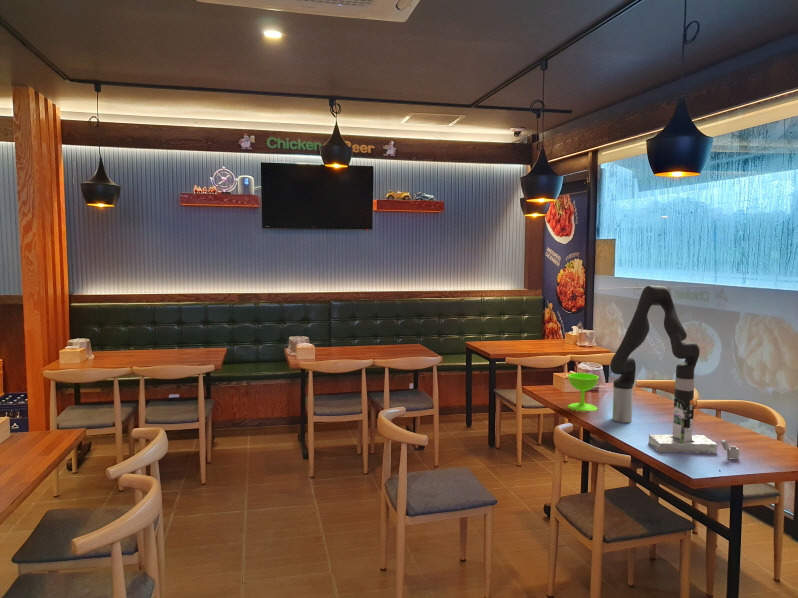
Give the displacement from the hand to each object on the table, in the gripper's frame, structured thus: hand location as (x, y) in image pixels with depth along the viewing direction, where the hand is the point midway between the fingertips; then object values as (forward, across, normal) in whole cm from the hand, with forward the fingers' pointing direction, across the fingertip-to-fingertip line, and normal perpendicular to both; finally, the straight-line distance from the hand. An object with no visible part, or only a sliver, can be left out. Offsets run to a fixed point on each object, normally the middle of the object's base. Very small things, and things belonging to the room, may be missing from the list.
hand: (682, 425), depth 248 cm
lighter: (+11, +12, +14) cm, 21 cm away
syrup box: (+7, 0, 0) cm, 7 cm away
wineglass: (+11, -63, -26) cm, 69 cm away
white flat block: (+10, 0, 0) cm, 10 cm away
